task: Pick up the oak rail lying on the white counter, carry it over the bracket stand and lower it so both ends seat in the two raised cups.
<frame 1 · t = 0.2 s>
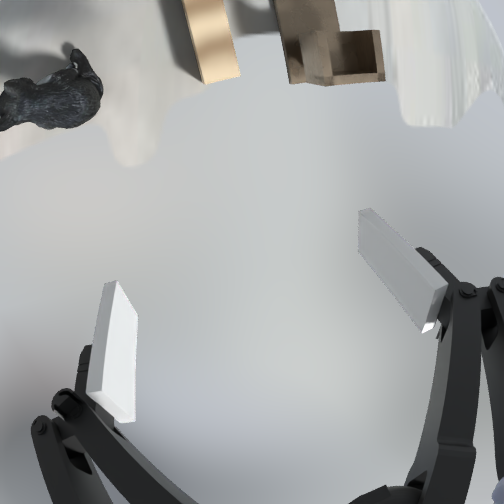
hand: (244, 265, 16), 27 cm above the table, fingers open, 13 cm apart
figurine 2: (78, 86, 30), on the table
rail: (200, 8, 28), on the table
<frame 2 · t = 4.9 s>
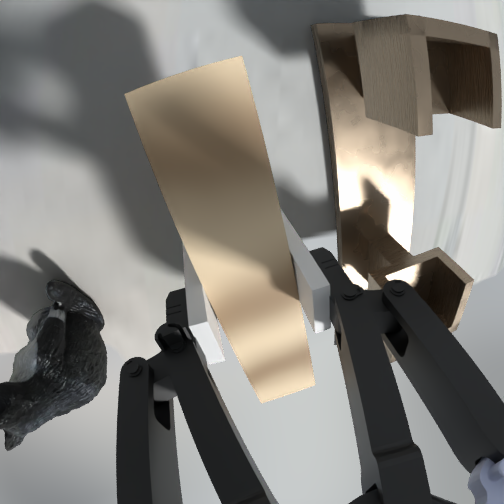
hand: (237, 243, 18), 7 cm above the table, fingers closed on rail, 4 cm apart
figurine 2: (68, 304, 26), on the table
bracket: (373, 168, 25), on the table
rail: (236, 242, 18), point 6 cm above the table, touching gripper
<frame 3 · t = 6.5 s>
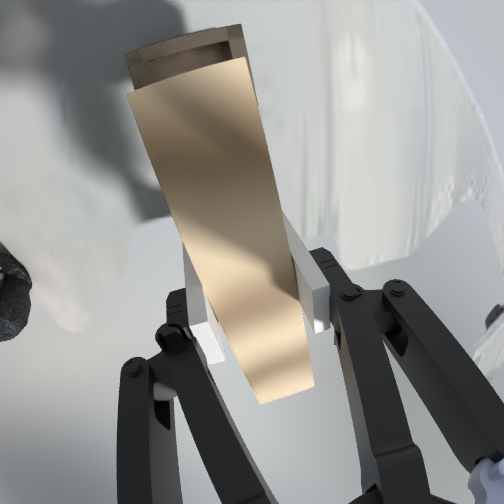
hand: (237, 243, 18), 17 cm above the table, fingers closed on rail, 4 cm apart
figurine 2: (10, 270, 32), on the table
bracket: (209, 157, 31), on the table
rail: (236, 243, 18), point 16 cm above the table, touching gripper
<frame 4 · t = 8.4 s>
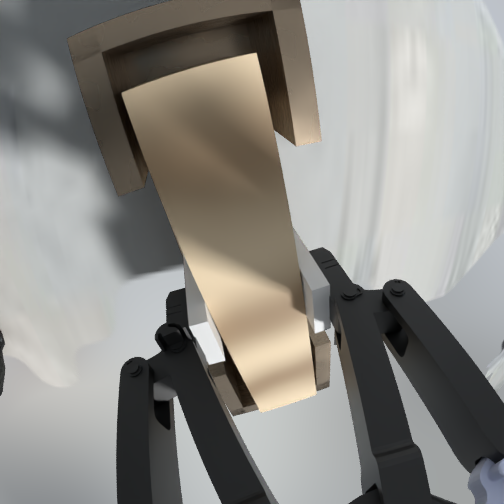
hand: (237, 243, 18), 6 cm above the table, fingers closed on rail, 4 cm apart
bracket: (220, 194, 22), on the table
rail: (238, 249, 17), point 6 cm above the table, touching bracket, gripper
when the fingers open (6 cm above the table, at t = 9.1 s): rail stays where it is, resting on bracket.
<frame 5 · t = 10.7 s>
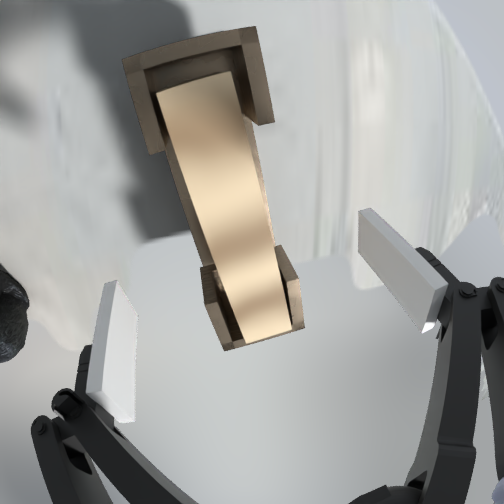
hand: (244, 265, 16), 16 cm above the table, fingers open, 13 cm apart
figurine 2: (7, 287, 30), on the table
bracket: (217, 173, 29), on the table
rail: (228, 206, 24), point 6 cm above the table, touching bracket
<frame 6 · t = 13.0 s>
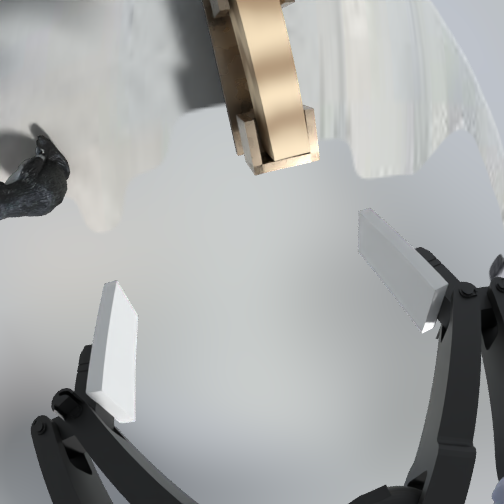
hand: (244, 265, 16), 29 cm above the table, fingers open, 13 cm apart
figurine 2: (48, 163, 35), on the table
bracket: (247, 60, 34), on the table
rail: (261, 63, 29), point 6 cm above the table, touching bracket
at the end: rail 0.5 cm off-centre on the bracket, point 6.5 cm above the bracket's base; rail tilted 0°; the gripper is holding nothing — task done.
